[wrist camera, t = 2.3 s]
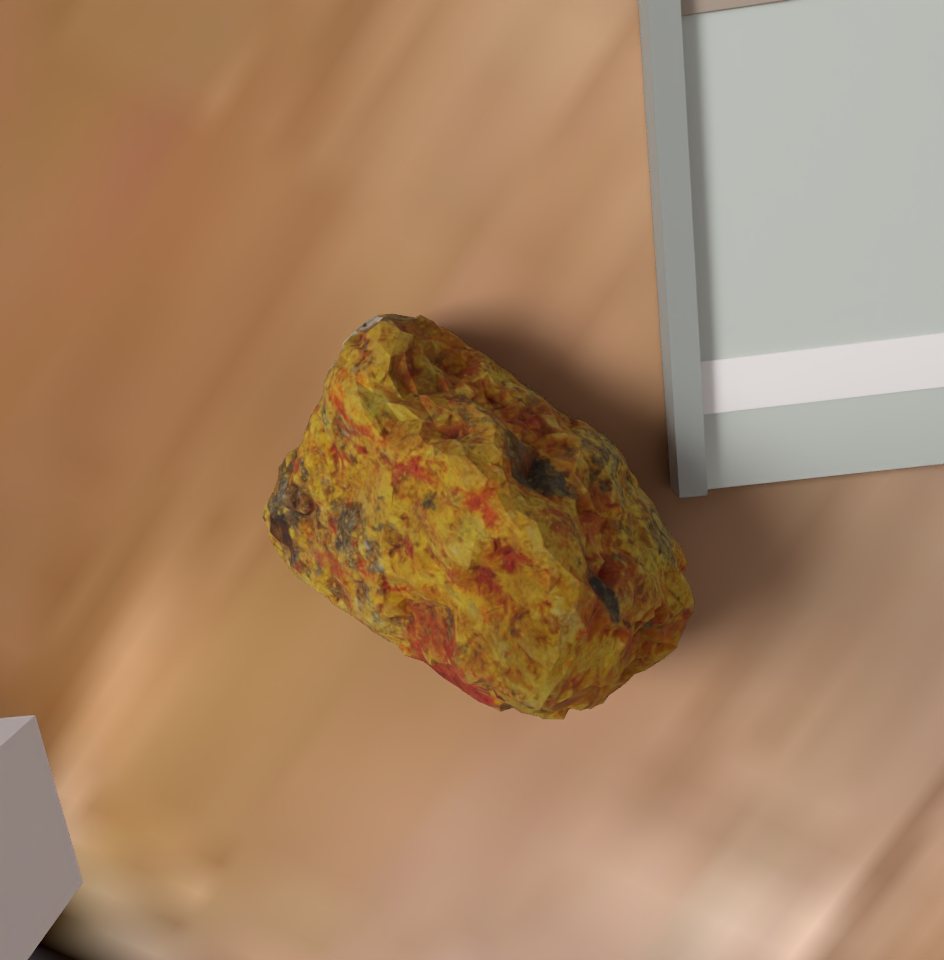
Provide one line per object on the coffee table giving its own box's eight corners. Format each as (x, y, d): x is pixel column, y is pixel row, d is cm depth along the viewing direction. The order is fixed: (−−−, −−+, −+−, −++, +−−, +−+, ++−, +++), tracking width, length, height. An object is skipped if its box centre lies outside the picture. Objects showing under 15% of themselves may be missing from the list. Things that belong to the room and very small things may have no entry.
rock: (414, 583, 29) (173, 539, 21) (509, 379, 28) (296, 258, 21) (664, 762, 22) (437, 794, 14) (798, 495, 21) (637, 375, 13)
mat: (670, 487, 23) (679, 498, 22) (624, -209, 19) (632, -242, 18) (1142, 436, 22) (1177, 444, 21) (1199, -305, 18) (1246, -346, 17)
